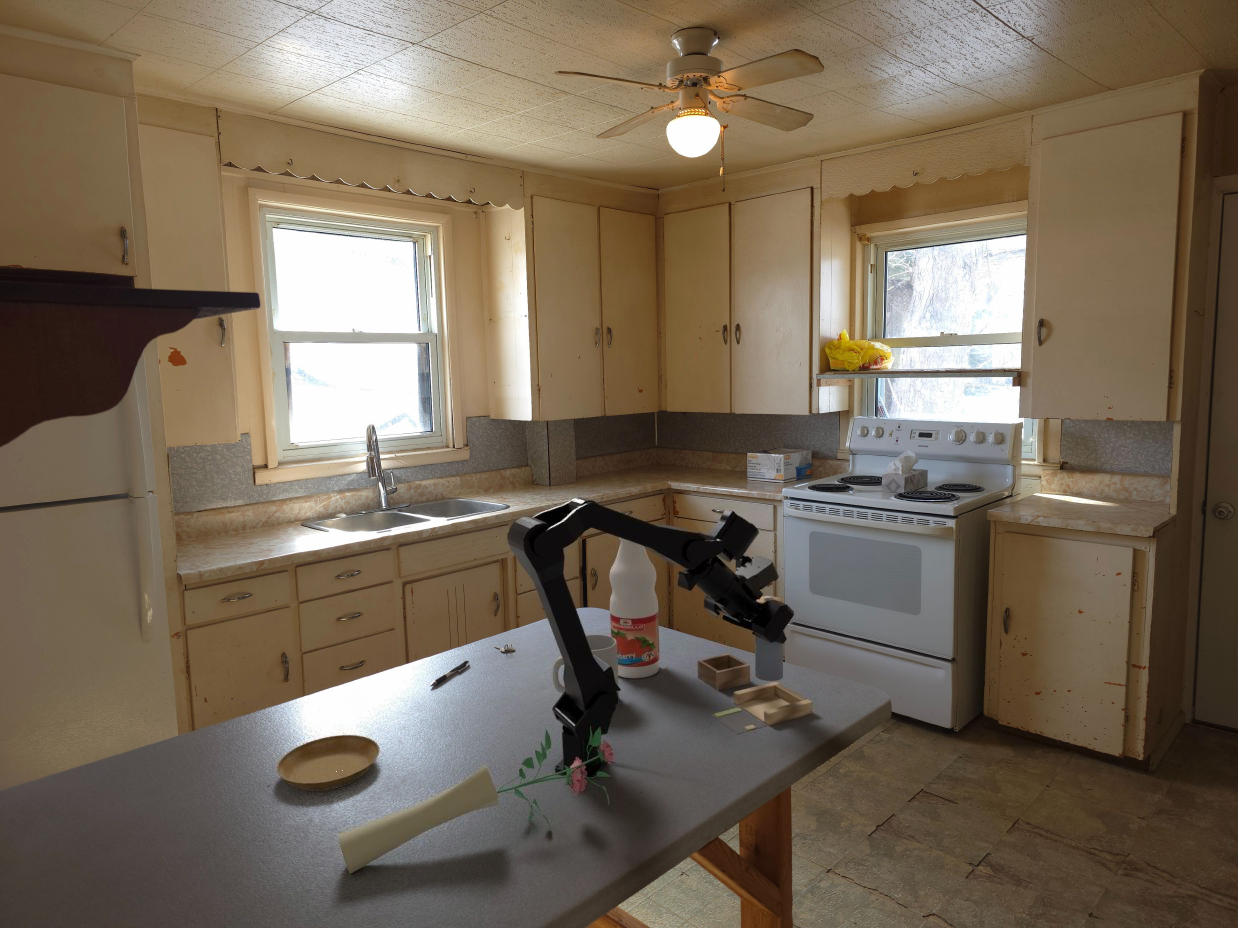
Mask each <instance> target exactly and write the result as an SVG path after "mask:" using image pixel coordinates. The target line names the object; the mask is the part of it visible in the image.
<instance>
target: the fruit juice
mask: <svg viewBox="0 0 1238 928" xmlns="http://www.w3.org/2000/svg"><path fill="white" fill-rule="evenodd" d="M618 540H619V541H620V544H619V548H618V551H617V554H616V557H615V559H614V562H613V564H612V566H611V568H610V570H609V582H610V587H611V595H610V598H609V617H610V619H609V620H610V621H609V623H610V637H612V638H614V639H615V640H616V641H617V656H618V677H621V678H626V679H644V678H649V677H652V676H654V675H656V674H657V673H658V672H659V670H660V667H661V663H660V662H661V661H660V660H661V659H660V657H661V656H660V632H659V631H660V628H659V602H658V595H657V594H656V591H655V586H656V583H657V570H656V567H655V566H654V564H653V563H652V562H651V560H650V557H649V555H648V553H647V550H646V548H645V547H644V546H642V545H640V544H637V543H634V542H631V541H628V540H625V539H622V538H620V537H618Z"/></svg>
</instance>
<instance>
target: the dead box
mask: <svg viewBox="0 0 1238 928" xmlns="http://www.w3.org/2000/svg"><path fill="white" fill-rule="evenodd" d="M697 679H699V680H701V681H702V682H703V683H705V684H707V685H708V686H710V687H712V688H713V689H714V690H716V691H718V692H719V691H723V690H728V689H730V688H731V689H732V688H735V687H739V686H743V685H748V684H750V683H751V664H749V663H747V662H745V661H744V660H742V659H740V658H738V657H736V656H734V655H733V654H731V653H729V652H728V653H723V654H720V655H715V656H710V657H706V658H703V659H702V658H701V659H697Z"/></svg>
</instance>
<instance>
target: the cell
mask: <svg viewBox="0 0 1238 928" xmlns="http://www.w3.org/2000/svg"><path fill="white" fill-rule="evenodd" d="M768 600H777V601H779V602H782V603H784V601H783V599H782V598H781V597H778V596H773V595H764V596H763V595H762V597H761V598H760V599H759V600H758V599H757V602H759V603H764V602H766V601H768ZM754 643H755V644H754V645H755V646H754V648H755V649H754V651H755V652H754V657H755V658H754V659H755V661H754V662H755V663H754V664H755V670H754V671H755V678H757V679H758V680H761V681H766V682H778V681H780V680H782V679H783V677H784V644H781V643H778V642H773V643H770V642H768V641H766V640H764V639H762V638H759V637H757V636H755V635H754Z"/></svg>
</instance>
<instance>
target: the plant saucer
mask: <svg viewBox="0 0 1238 928" xmlns="http://www.w3.org/2000/svg"><path fill="white" fill-rule="evenodd" d="M380 752H381V751H380V746H379V744H378V743H377V742H376V741H375V740H374V739H372V738H370V737H366V736H363V735H356V734H339V735H332V736H325V737H321V738H317V739H314V740H311V741H308V742H305V743H303V744H301V745H299V746H296V747H294V748H293V749H291V750H290V751H288V752H287V753H286V754H284V755H283V756H282V757H281V758H280V760H279V761H278V762H277V765H276V773H277V775H278V776H279V777H280V778H281V779H282V780H283V781H285V783H288V784H289V785H290V786H291V787H292V786H293V787H294V788H296V789H299V790H303V791H306V790H307V792H323V791H329V790H335V789H338V788H341V786H342V787H344V786H347V785H350V784H351V783H353V782H355V781H356V779H357V780H358V779H359V777H360V778H361V777H362V776H363V775H364V774H366V772H368V770H370V768H371V767H372V766H373V764H374V763H375V762H376V761H377V759H378V757H379V755H380ZM342 770H343V771H342ZM336 771H337V772H336ZM337 787H338V788H337ZM334 788H335V789H334Z"/></svg>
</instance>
